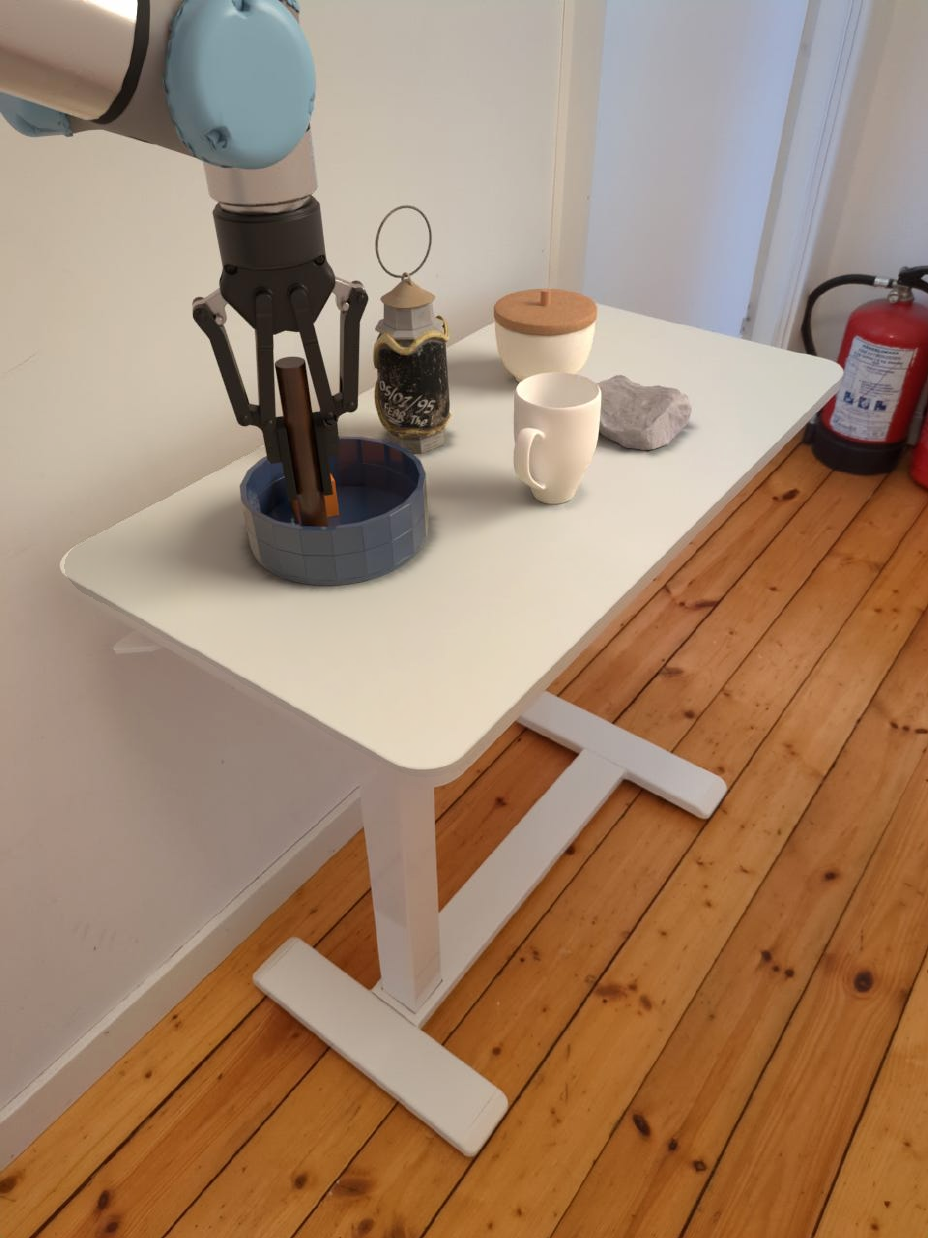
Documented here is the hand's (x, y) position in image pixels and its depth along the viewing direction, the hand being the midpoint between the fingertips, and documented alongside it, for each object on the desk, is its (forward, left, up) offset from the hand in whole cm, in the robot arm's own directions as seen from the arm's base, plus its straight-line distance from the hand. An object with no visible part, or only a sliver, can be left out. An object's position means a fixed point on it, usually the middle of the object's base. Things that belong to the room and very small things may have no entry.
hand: (309, 489), depth 78 cm
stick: (0, 0, -6) cm, 6 cm away
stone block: (+38, +19, -9) cm, 43 cm away
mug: (+24, +6, -9) cm, 26 cm away
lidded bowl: (+33, +35, -9) cm, 48 cm away
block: (+1, +10, -8) cm, 12 cm away
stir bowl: (+3, +6, -8) cm, 10 cm away
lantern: (+14, +23, -9) cm, 28 cm away
